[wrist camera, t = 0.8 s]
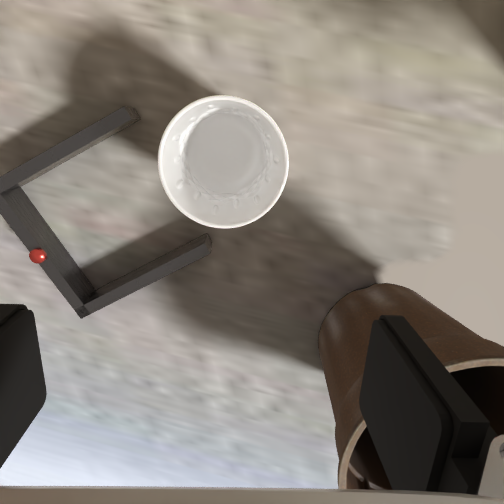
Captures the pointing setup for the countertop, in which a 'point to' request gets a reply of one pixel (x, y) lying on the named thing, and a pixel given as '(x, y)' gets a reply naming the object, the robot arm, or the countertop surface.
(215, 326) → the countertop surface
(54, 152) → the bracket
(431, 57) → the countertop surface
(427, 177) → the countertop surface
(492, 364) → the plant pot
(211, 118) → the white cup
